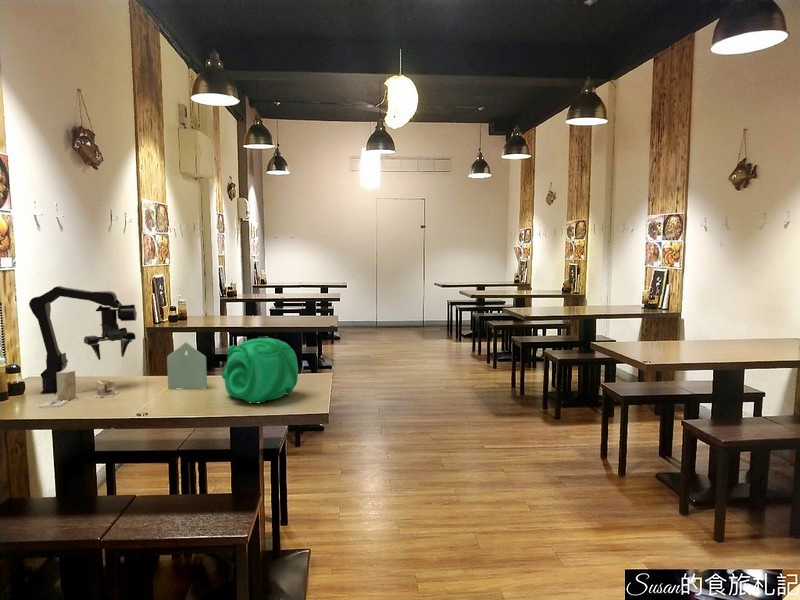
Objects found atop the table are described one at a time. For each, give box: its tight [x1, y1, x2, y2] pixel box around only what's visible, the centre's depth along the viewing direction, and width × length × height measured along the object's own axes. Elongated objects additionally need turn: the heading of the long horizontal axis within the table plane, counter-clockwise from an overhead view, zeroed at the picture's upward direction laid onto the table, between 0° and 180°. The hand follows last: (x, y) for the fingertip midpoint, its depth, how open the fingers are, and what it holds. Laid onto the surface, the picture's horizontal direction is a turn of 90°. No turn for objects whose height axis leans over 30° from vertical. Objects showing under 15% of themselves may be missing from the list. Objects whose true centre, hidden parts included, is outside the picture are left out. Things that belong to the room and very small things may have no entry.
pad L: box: [93, 391, 120, 398], centre depth 227 cm, size 7×7×1 cm
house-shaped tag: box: [166, 342, 208, 390], centre depth 240 cm, size 16×8×20 cm, turn 88°
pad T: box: [38, 400, 69, 408], centre depth 213 cm, size 7×7×1 cm
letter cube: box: [96, 379, 116, 396], centre depth 226 cm, size 5×5×5 cm
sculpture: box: [221, 337, 299, 403], centre depth 222 cm, size 27×28×30 cm
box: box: [56, 369, 77, 401], centre depth 221 cm, size 5×4×11 cm
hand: (111, 358), depth 239 cm, fingers open, 9 cm apart
